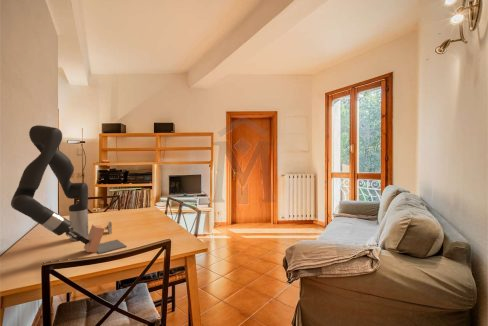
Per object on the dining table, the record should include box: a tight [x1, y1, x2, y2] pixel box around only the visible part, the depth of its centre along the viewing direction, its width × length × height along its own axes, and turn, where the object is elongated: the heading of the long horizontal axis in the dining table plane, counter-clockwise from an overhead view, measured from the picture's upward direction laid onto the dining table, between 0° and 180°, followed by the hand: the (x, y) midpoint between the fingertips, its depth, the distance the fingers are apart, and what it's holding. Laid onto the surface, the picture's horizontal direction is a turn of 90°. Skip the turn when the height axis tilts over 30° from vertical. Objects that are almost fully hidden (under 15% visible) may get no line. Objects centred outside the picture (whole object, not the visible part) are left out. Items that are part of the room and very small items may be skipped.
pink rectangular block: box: [83, 224, 105, 253], centre depth 127 cm, size 8×4×12 cm, turn 45°
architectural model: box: [103, 220, 113, 235], centre depth 156 cm, size 3×7×7 cm, turn 37°
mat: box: [96, 239, 127, 255], centre depth 132 cm, size 15×13×1 cm
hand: (87, 242), depth 125 cm, fingers closed
